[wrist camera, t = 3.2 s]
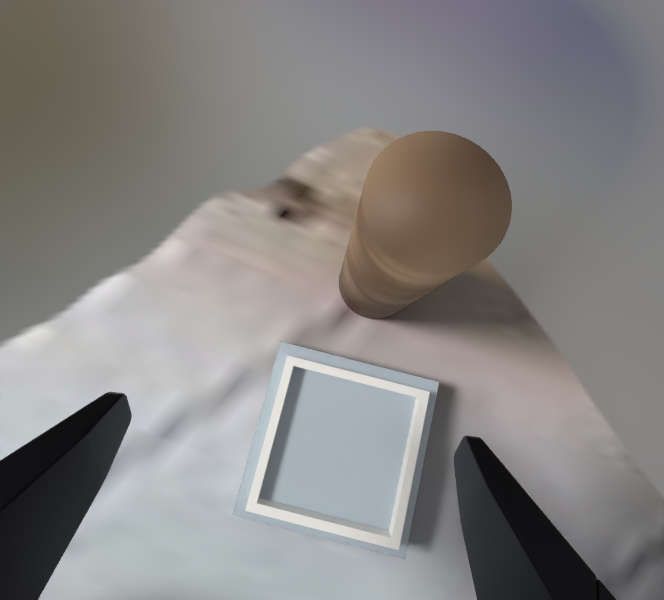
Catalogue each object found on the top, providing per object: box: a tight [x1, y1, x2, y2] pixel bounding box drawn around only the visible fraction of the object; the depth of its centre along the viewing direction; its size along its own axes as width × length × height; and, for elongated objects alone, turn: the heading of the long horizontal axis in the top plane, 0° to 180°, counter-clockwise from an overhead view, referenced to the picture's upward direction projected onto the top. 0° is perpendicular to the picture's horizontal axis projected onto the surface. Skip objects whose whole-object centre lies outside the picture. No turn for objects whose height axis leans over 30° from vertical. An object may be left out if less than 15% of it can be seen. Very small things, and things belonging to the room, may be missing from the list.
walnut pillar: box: [339, 131, 512, 319], centre depth 18 cm, size 5×5×13 cm
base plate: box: [232, 341, 439, 559], centre depth 21 cm, size 10×10×3 cm
